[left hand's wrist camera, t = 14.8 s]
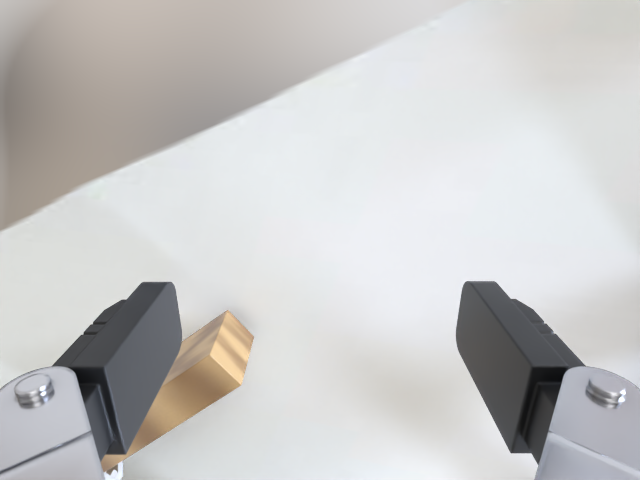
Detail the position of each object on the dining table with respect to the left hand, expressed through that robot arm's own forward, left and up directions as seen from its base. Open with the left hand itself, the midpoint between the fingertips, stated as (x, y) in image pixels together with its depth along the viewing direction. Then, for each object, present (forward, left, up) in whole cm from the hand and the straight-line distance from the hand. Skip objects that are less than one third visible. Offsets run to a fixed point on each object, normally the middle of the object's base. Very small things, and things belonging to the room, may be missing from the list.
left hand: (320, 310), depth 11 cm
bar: (+33, -3, -29) cm, 44 cm away
